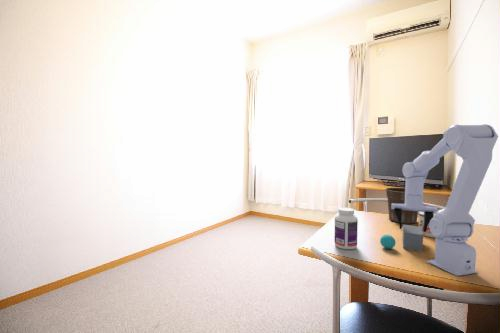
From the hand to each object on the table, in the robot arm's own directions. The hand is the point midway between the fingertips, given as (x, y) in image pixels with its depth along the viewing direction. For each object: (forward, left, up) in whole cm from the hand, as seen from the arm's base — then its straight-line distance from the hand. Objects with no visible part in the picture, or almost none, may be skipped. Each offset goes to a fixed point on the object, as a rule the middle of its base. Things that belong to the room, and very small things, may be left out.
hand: (412, 229), depth 96 cm
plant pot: (+27, -24, -6) cm, 36 cm away
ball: (0, +11, -4) cm, 12 cm away
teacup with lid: (+6, -19, -6) cm, 21 cm away
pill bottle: (+6, +25, -6) cm, 27 cm away
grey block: (0, 0, -6) cm, 6 cm away
